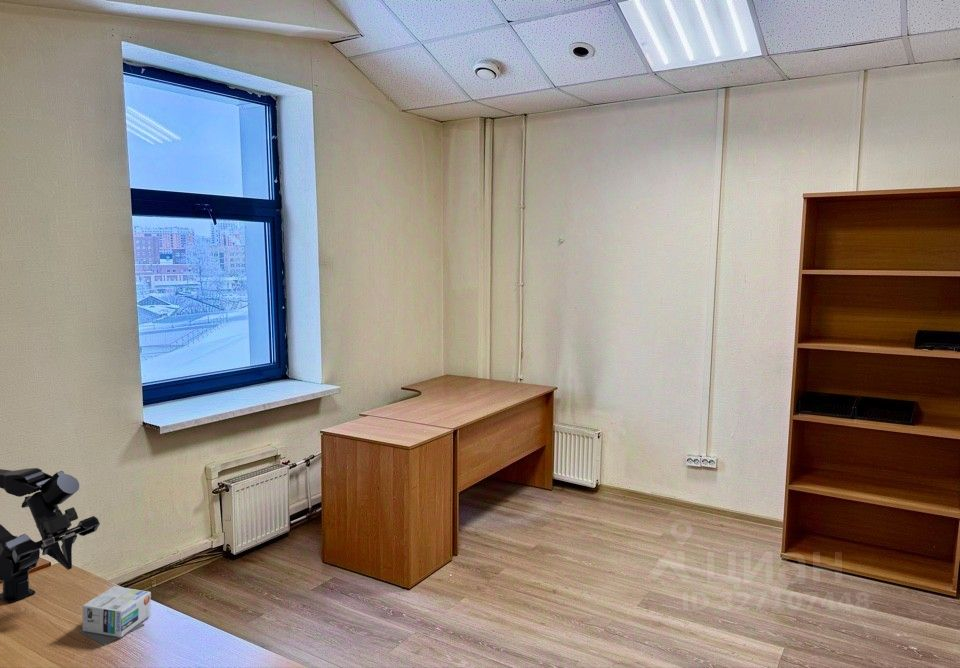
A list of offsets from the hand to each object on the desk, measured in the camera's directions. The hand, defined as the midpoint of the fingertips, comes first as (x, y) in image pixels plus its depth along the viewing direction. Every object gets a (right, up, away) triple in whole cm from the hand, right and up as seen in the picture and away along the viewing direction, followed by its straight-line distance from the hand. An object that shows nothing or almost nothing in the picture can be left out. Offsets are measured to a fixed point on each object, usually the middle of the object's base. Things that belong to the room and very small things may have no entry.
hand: (69, 568), depth 167 cm
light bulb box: (+9, -8, -3) cm, 12 cm away
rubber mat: (+14, -13, -5) cm, 19 cm away
